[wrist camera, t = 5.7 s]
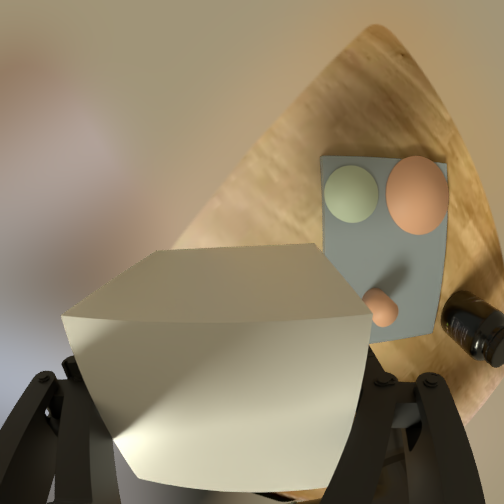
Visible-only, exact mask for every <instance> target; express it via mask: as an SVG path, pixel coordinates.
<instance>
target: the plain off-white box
mask: <svg viewBox="0 0 504 504" xmlns="http://www.w3.org/2000/svg"><path fill="white" fill-rule="evenodd" d="M61 318H62V321H63V325H64V328H65V331H66V334H67V337H68V340H69V343H70V346H71V349H72V351H73V354H74V357H75V360H76V362H77V365H78V367H79V370H80V372H81V375H82V377H83V379H84V382H85V384H86V386H87V389H88V391H89V393H90V395H91V397H92V400H93V402H94V404H95V406H96V408H97V410H98V412H99V414H100V416H101V418H102V420H103V422H104V423H105V425H106V427H107V429H108V431H109V433H110V434H111V436H112V438H113V440H114V441H115V443H116V445H117V447H118V448H119V450H120V451H121V453H122V455H123V456H124V458H125V459H126V461H127V463H128V464H129V466H130V467H131V469H132V470H133V472H134V473H135V475H136V476H137V477H138V478H140V479H144V480H149V481H153V482H159V483H163V484H170V485H175V486H181V487H188V488H196V489H205V490H217V491H231V492H232V491H233V492H281V491H297V490H308V489H317V488H324V487H328V485H329V482H330V480H331V478H332V476H333V474H334V471H335V469H336V467H337V464H338V462H339V460H340V457H341V455H342V452H343V450H344V447H345V444H346V442H347V439H348V436H349V434H350V431H351V427H352V424H353V420H354V416H355V412H356V408H357V403H358V399H359V394H360V390H361V385H362V380H363V375H364V370H365V364H366V359H367V353H368V347H369V340H370V333H371V326H372V318H373V313H372V312H371V310H370V309H369V308H368V307H367V305H366V304H365V303H364V302H363V300H362V299H361V298H360V297H359V296H358V294H357V293H356V292H355V291H354V289H353V288H352V287H351V286H350V285H349V283H348V282H347V281H346V280H345V279H344V277H343V276H342V275H341V274H340V273H339V271H338V270H337V269H336V268H335V267H334V266H333V264H332V263H331V262H330V261H329V260H328V259H327V257H326V256H325V255H324V254H323V253H322V252H321V250H320V249H319V248H318V247H317V246H316V245H315V244H314V243H308V244H285V245H263V246H241V247H220V248H200V249H180V250H160V251H155V252H154V253H152V254H150V255H149V256H147V257H146V258H144V259H143V260H141V261H140V262H138V263H137V264H135V265H134V266H132V267H130V268H129V269H127V270H126V271H124V272H123V273H121V274H120V275H118V276H117V277H115V278H114V279H112V280H111V281H109V282H108V283H106V284H105V285H104V286H102V287H101V288H99V289H98V290H96V291H95V292H93V293H92V294H91V295H89V296H88V297H86V298H85V299H83V300H82V301H81V302H79V303H78V304H76V305H75V306H73V307H72V308H71V309H69V310H68V311H66V312H65V313H64V314H62V315H61Z"/></svg>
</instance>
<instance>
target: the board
mask: <svg viewBox="0 0 504 504" xmlns="http://www.w3.org/2000/svg"><path fill="white" fill-rule="evenodd" d="M320 166H321V186H322V217H323V254H324V255H325V256H326V257H327V259H328V260H329V261H330V262H331V263H332V264H333V266H334V267H335V268H336V269H337V270H338V271H339V273H340V274H341V275H342V276H343V277H344V279H345V280H346V281H347V282H348V283H349V285H350V286H351V287H352V288H353V289H354V291H355V292H356V293H357V294H358V296H359V297H360V298H361V299H362V300H363V302H364V303H365V304H366V305H367V307H368V308H369V309H370V310H371V312H372V313H373V318H372V326H371V333H370V340H369V344H371V343H378V342H385V341H392V340H398V339H404V338H409V337H415V336H420V335H425V334H430V333H432V332H433V328H434V323H435V318H436V313H437V308H438V302H439V297H440V290H441V284H442V276H443V268H444V259H445V248H446V234H447V208H448V203H449V191H448V185H447V164H445V163H437V162H432V161H431V160H429V159H427V158H425V157H422V156H410V157H406V158H404V159H395V158H380V157H359V156H321V157H320Z"/></svg>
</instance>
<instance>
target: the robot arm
mask: <svg viewBox="0 0 504 504" xmlns="http://www.w3.org/2000/svg"><path fill="white" fill-rule="evenodd" d="M62 367H63V369H64V371H65V374H66V376H67V378H68V379H66V380H57V378H56V376H55V374H54V373H53V372H52V371H43V372H40V373H38V374H37V375H36V376H35V377H34V378H33V379H32V381H31V382H30V384H29V385H28V387H27V388H26V390H25V391H24V393H23V394H22V396H21V397H20V399H19V400H18V402H17V403H16V405H15V406H14V408H13V410H12V411H11V413H10V415H9V416H8V418H7V420H6V421H5V423H4V425H3V426H2V428H1V430H0V504H46V503H47V499H48V495H49V491H50V488H51V485H52V481H53V478H54V475H55V499H54V501H53V502H49V503H47V504H121V501H120V495H119V489H118V483H117V476H116V469H115V461H114V451H113V441H112V436H111V434H110V433H109V431H108V429H107V427H106V425H105V423H104V422H103V420H102V418H101V416H100V414H99V412H98V410H97V408H96V406H95V404H94V402H93V400H92V397H91V395H90V393H89V391H88V389H87V386H86V384H85V382H84V379H83V377H82V375H81V372H80V370H79V367H78V365H77V362H76V360H75V357H74V355H73V356H70V357H68V358H66V359H65V360H64V361H63V362H62ZM46 408H47V410H48V411H49V415H48V416H46V414H45V410H46ZM356 413H357V414H356V417H355V420H354V422H353V425H352V427H351V431H350V434H349V436H348V439H347V442H346V444H345V447H344V450H343V452H342V455H341V457H340V460H339V462H338V464H337V467H336V469H335V471H334V474H333V476H332V478H331V480H330V482H329V485H328V487H327V489H326V491H325V493H324V495H323V497H322V498H320V499H315V500H309V501H303V502H296V501H294V502H291V503H288V504H485V499H484V494H483V490H482V486H481V482H480V478H479V474H478V470H477V466H476V463H475V460H474V456H473V453H472V450H471V447H470V444H469V440H468V438H467V435H466V432H465V429H464V426H463V423H462V421H461V418H460V415H459V413H458V410H457V408H456V405H455V403H454V400H453V398H452V395H451V393H450V390H449V388H448V386H447V384H446V381H445V380H444V378H443V377H442V376H440V375H439V374H436V373H430V372H427V373H423V374H421V375H419V376H418V378H417V380H416V382H398V379H397V378H396V377H395V376H394V375H392V374H391V373H387V372H385V371H384V369H383V368H382V366H381V364H380V363H379V361H378V359H377V358H376V357H375V354H374V353H373V352H372V349H371V348H370V346H369V347H368V353H367V359H366V364H365V370H364V375H363V380H362V385H361V390H360V394H359V399H358V403H357V408H356Z"/></svg>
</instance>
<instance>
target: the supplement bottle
mask: <svg viewBox="0 0 504 504" xmlns="http://www.w3.org/2000/svg"><path fill="white" fill-rule="evenodd" d="M441 325H442V328H443V330H444V331H445V332H446V333H447V334H448V335H449V336H450V337H451V338H452V339H453V340H454V341H455V342H456V343H457V344H458V345H459V346H460V347H461V348H462V349H463V350H464V351H465V352H466V353H467V354H468V355H469V356H470V357H472V358H473V359H474V360H477V361H483V360H485V361H486V362H487V363H489V364H490V365H491V366H492V367H494V368H497V367H500V366H502V365H503V364H504V314H503V313H502V312H501V311H499V310H498V309H496V308H495V307H493V306H491V305H490V304H488V303H487V302H485V301H484V300H482V299H481V298H479V297H477V296H476V295H474V294H472V293H471V292H469V291H460V292H457V293H456V294H454V295H453V296H452V297H451V298H450V299H449V300H448V301H447V303H446V304H445V306H444V308H443V311H442V315H441Z"/></svg>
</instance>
